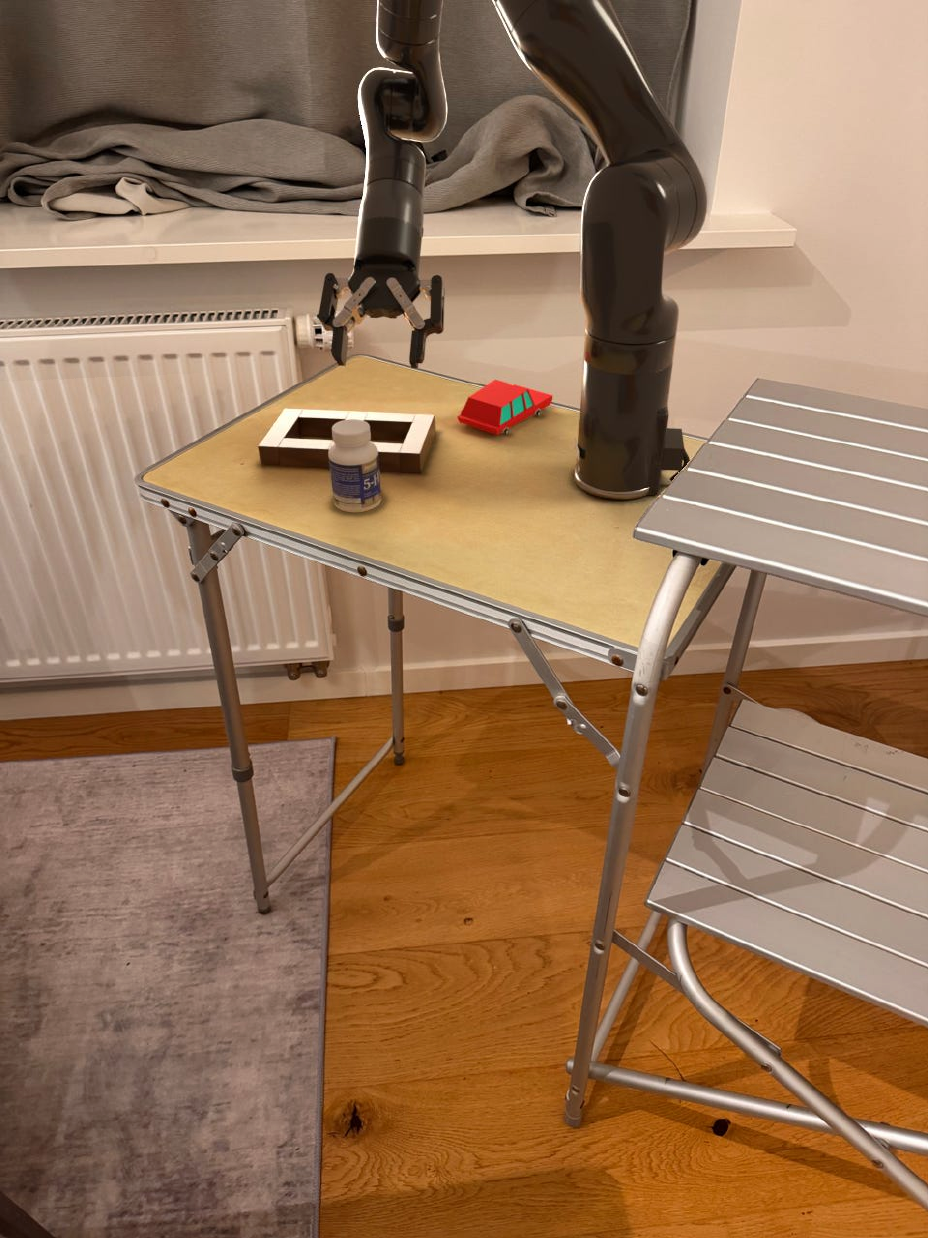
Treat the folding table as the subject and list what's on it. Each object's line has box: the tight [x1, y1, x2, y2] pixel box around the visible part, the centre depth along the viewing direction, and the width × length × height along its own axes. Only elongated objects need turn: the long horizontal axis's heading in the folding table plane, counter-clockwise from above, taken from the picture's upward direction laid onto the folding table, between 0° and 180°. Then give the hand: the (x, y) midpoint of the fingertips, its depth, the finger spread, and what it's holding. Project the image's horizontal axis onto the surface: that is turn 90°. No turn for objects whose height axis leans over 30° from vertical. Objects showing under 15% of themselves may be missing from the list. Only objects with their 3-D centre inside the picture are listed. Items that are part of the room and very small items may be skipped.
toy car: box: [457, 379, 553, 436], centre depth 115 cm, size 6×12×4 cm, turn 141°
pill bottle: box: [328, 419, 382, 513], centre depth 97 cm, size 5×5×9 cm
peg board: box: [257, 408, 437, 474], centre depth 109 cm, size 19×11×2 cm, turn 82°
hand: (376, 364), depth 103 cm, fingers open, 8 cm apart
